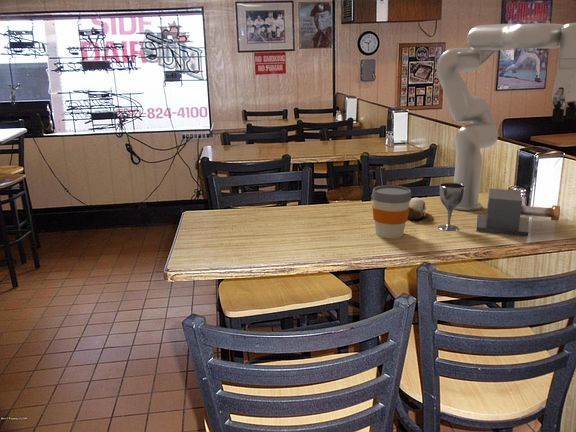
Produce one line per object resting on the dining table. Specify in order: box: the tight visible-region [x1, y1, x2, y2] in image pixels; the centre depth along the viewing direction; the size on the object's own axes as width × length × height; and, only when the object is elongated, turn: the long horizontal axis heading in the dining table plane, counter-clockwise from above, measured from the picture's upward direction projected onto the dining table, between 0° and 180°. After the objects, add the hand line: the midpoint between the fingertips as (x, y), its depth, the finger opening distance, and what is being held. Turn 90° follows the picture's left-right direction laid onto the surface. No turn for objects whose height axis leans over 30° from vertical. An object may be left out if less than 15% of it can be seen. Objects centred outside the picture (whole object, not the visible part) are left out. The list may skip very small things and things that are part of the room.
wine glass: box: [437, 181, 465, 232], centre depth 183 cm, size 8×8×15 cm
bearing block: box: [475, 188, 530, 238], centre depth 184 cm, size 16×16×12 cm
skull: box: [407, 197, 434, 224], centre depth 195 cm, size 12×10×10 cm
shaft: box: [520, 205, 561, 222], centre depth 181 cm, size 16×5×5 cm, turn 70°
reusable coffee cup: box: [371, 184, 412, 239], centre depth 177 cm, size 13×13×15 cm
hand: (563, 120), depth 173 cm, fingers open, 9 cm apart
